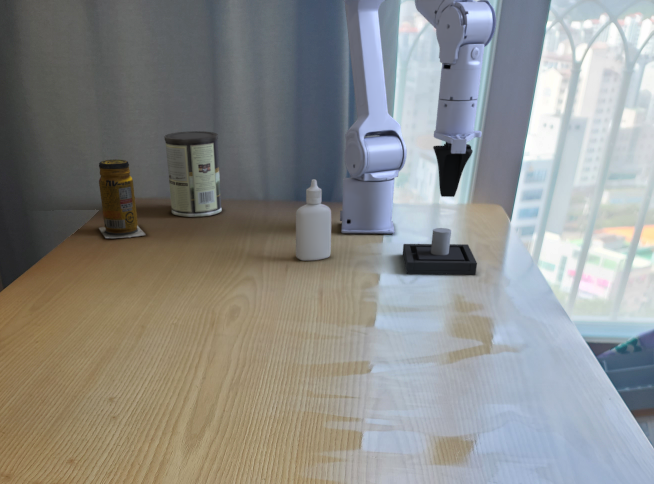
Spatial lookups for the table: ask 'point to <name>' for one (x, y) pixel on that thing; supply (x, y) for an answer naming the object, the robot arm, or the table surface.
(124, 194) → the condiment
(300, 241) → the eye dropper bottle
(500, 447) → the table surface
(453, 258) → the stud pad
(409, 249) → the socket pad
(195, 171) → the coffee can
